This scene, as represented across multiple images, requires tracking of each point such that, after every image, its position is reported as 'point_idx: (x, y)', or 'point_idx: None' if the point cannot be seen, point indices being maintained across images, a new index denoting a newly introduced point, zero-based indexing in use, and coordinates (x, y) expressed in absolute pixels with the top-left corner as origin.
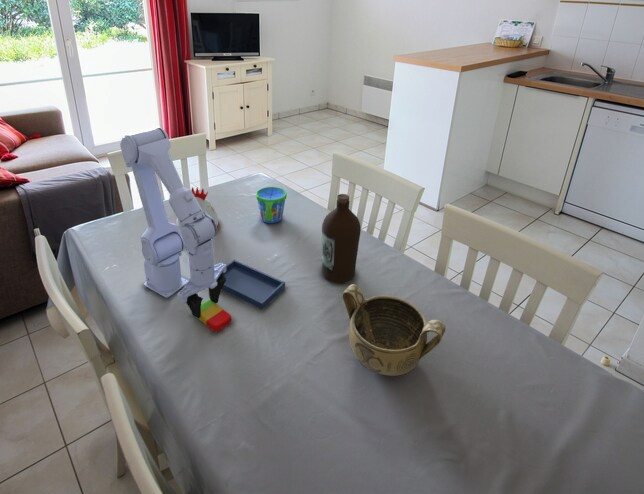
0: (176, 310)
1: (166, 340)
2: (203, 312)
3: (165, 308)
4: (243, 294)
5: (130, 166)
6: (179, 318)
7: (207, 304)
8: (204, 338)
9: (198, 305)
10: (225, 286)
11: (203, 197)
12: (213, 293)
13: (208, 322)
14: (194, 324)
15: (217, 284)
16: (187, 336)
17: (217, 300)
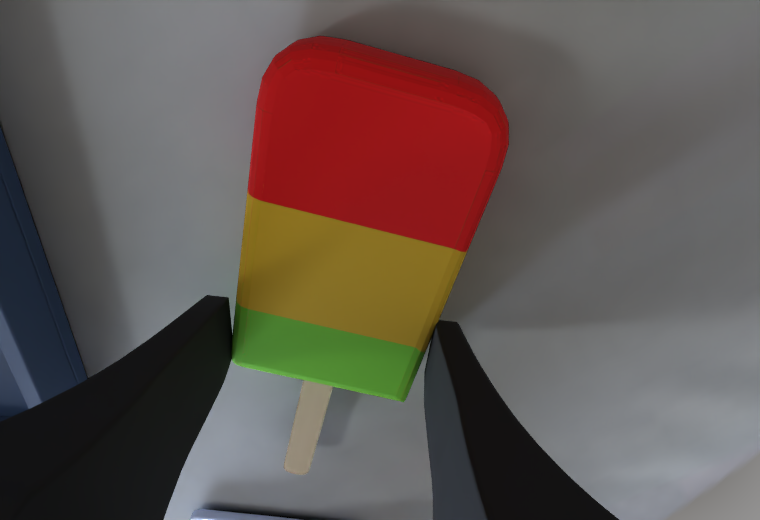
0: (419, 452)
1: (691, 372)
2: (391, 326)
3: None
4: None
5: None
6: None
7: (292, 349)
8: (599, 151)
9: (522, 460)
10: (27, 344)
11: None
12: (187, 395)
13: (476, 222)
14: (481, 308)
15: (76, 503)
16: (616, 282)
17: (206, 310)
